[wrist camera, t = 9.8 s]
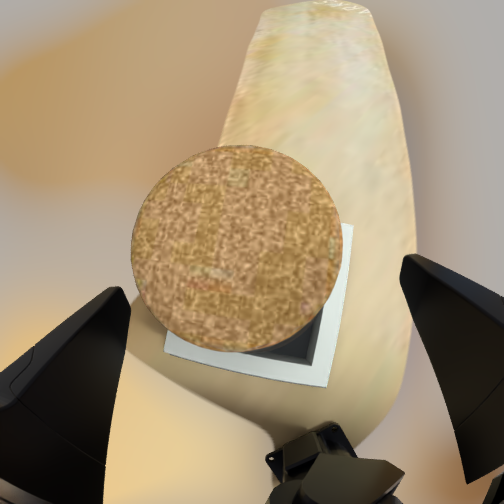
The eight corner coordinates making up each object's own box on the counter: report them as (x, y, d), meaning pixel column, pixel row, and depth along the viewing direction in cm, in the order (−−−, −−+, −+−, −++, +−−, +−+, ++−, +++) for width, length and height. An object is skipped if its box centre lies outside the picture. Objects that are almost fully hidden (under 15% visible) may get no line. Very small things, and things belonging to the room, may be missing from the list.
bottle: (315, 279, 20) (399, 181, 6) (280, 351, 19) (293, 426, 5) (244, 245, 21) (189, 103, 7) (208, 314, 20) (72, 293, 6)
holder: (323, 385, 19) (335, 400, 15) (173, 353, 21) (150, 359, 16) (349, 236, 22) (365, 216, 18) (206, 211, 23) (192, 187, 19)
